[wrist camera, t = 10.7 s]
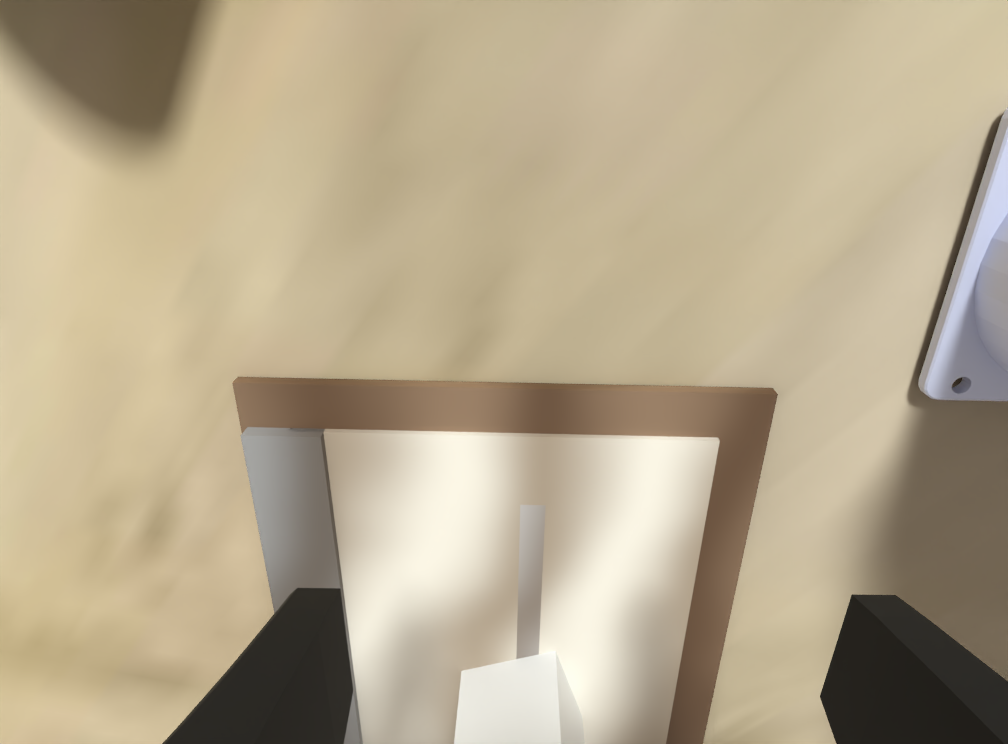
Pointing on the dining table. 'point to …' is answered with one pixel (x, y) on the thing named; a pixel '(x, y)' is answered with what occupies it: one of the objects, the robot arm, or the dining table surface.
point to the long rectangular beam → (518, 704)
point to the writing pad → (512, 537)
